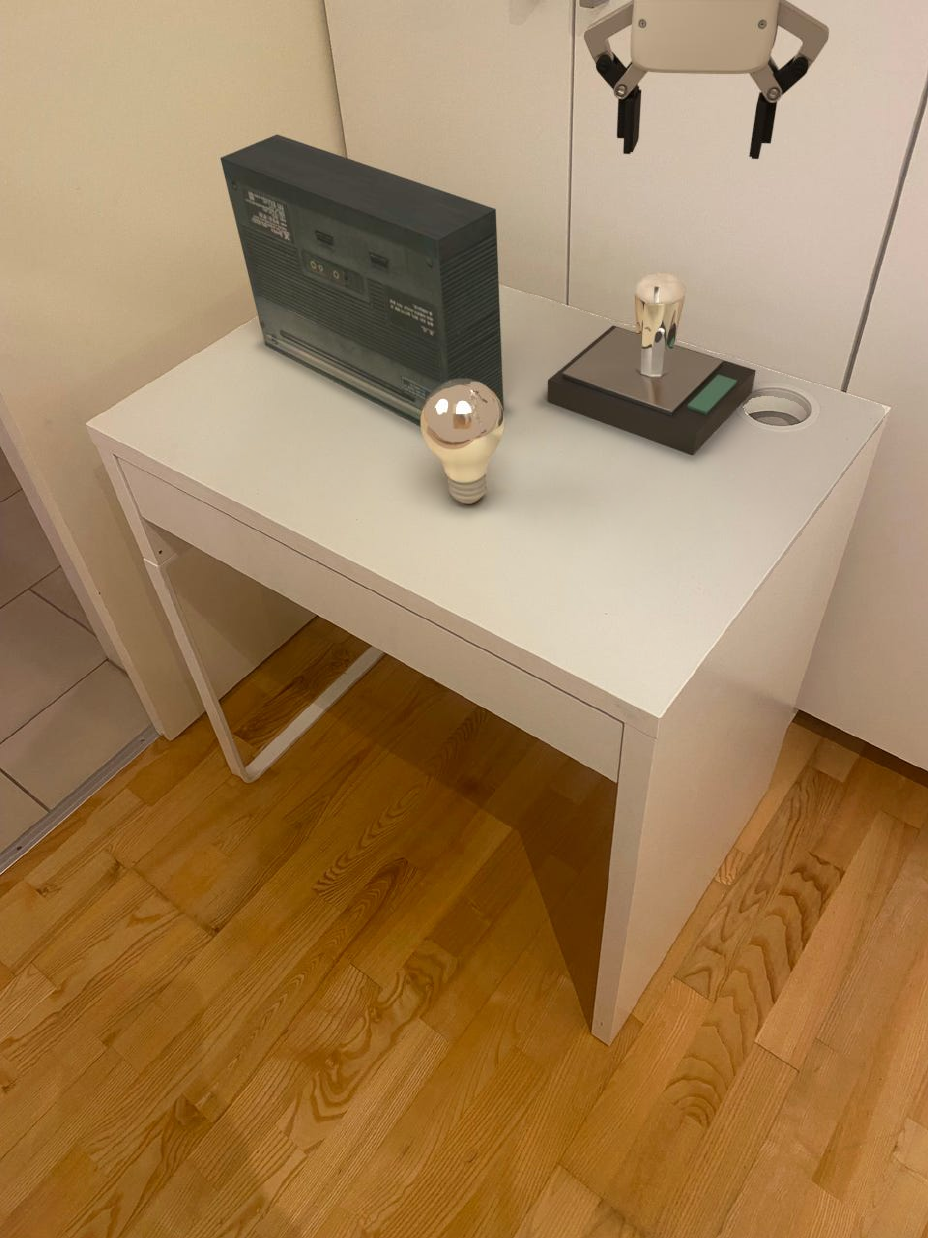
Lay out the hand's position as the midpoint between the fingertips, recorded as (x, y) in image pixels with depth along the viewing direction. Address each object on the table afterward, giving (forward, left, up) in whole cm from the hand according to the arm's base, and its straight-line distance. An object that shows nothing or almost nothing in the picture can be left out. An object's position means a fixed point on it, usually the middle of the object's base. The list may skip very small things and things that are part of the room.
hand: (692, 149), depth 75 cm
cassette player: (+30, 0, -24) cm, 39 cm away
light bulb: (+15, +17, -24) cm, 33 cm away
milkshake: (+2, -2, -21) cm, 21 cm away
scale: (+2, -2, -24) cm, 24 cm away
